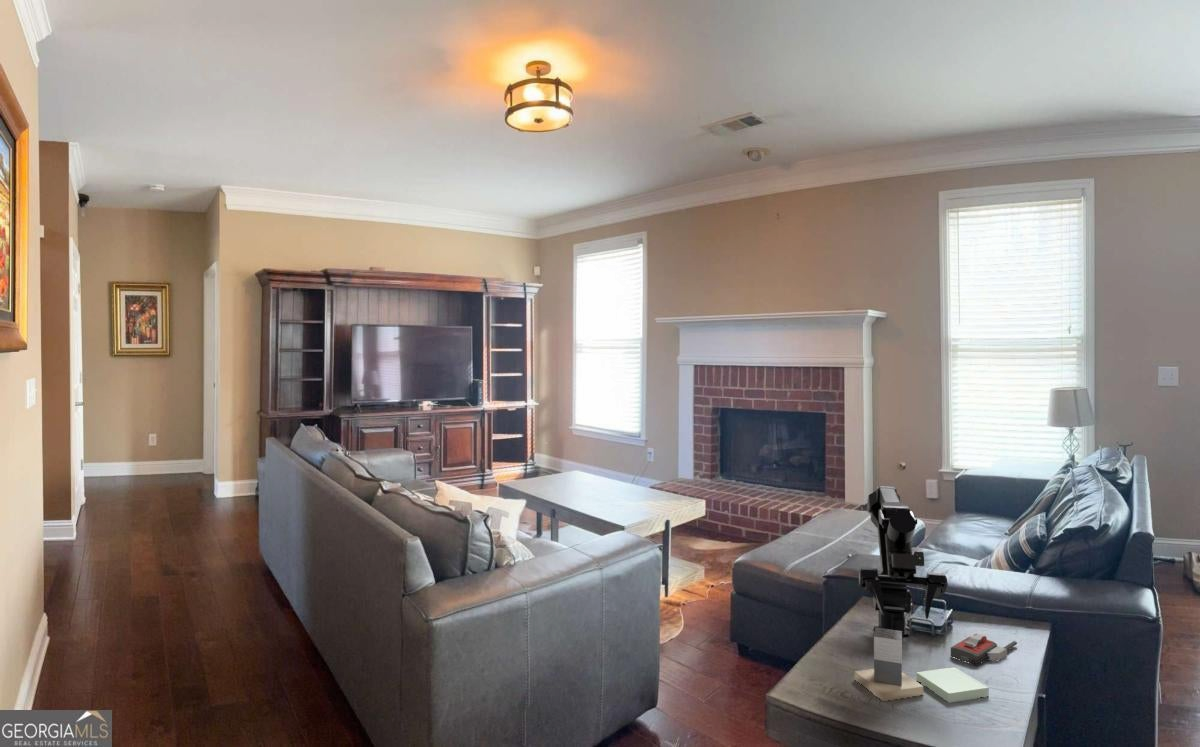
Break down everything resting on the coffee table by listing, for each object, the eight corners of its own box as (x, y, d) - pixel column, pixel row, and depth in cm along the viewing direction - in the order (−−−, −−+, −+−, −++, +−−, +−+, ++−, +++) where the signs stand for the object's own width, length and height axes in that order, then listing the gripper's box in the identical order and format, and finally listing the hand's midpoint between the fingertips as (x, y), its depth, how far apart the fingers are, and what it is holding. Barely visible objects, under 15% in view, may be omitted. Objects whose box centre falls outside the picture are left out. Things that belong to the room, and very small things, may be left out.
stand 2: (916, 681, 154) (916, 672, 154) (954, 675, 156) (954, 667, 156) (948, 702, 144) (948, 693, 144) (988, 696, 146) (988, 687, 146)
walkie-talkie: (984, 672, 158) (1020, 649, 170) (984, 654, 158) (1020, 631, 170) (946, 659, 165) (983, 638, 177) (946, 641, 165) (983, 621, 177)
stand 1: (854, 680, 154) (854, 671, 154) (893, 674, 157) (893, 666, 157) (882, 701, 145) (882, 692, 145) (923, 695, 147) (923, 686, 147)
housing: (875, 671, 154) (875, 627, 154) (901, 675, 152) (901, 631, 152) (874, 681, 149) (874, 636, 149) (901, 686, 147) (901, 640, 147)
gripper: (859, 534, 162) (863, 598, 153) (946, 539, 157) (955, 606, 147) (857, 555, 170) (860, 617, 161) (939, 561, 165) (948, 625, 155)
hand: (905, 616), depth 156 cm, fingers open, 9 cm apart
